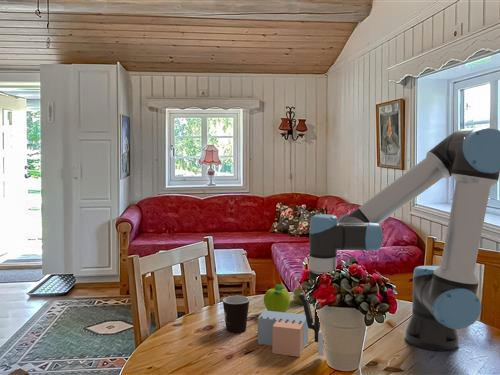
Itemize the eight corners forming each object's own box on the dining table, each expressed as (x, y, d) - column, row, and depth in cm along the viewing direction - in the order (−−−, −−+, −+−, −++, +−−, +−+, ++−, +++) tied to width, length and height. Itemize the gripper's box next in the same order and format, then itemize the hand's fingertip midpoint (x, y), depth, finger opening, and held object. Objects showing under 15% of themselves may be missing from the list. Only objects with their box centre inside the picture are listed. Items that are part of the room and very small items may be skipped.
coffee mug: (246, 335, 153) (246, 304, 152) (219, 333, 155) (219, 303, 154) (253, 322, 164) (253, 293, 163) (228, 320, 166) (228, 292, 165)
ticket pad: (308, 340, 149) (308, 314, 149) (303, 349, 143) (303, 322, 142) (264, 335, 153) (264, 309, 153) (257, 343, 147) (257, 317, 146)
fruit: (291, 310, 176) (291, 283, 175) (287, 319, 167) (287, 291, 166) (266, 308, 178) (266, 281, 177) (261, 317, 169) (261, 289, 168)
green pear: (288, 301, 186) (289, 276, 185) (301, 297, 191) (301, 272, 191) (303, 306, 181) (303, 279, 180) (316, 301, 186) (316, 276, 185)
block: (303, 349, 142) (303, 322, 142) (299, 356, 138) (300, 328, 137) (276, 346, 145) (276, 319, 144) (272, 353, 140) (272, 325, 139)
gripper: (348, 269, 136) (346, 351, 138) (302, 265, 140) (301, 345, 142) (345, 276, 129) (343, 362, 131) (296, 272, 133) (295, 356, 135)
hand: (321, 353), depth 136 cm, fingers closed
